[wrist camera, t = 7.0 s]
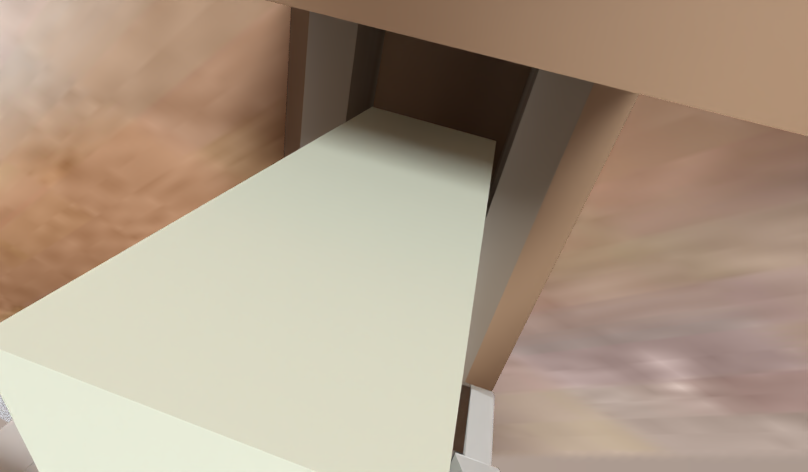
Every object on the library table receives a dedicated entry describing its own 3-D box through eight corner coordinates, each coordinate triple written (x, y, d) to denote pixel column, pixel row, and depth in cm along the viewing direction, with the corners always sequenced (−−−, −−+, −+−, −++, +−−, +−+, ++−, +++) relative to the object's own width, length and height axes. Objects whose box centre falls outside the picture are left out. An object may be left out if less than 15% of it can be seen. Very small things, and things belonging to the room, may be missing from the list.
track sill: (285, 332, 19) (137, 533, 12) (311, -62, 11) (-110, -243, 4) (480, 399, 18) (458, 667, 11) (662, 19, 10) (1105, 5, 3)
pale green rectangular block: (372, 106, 9) (-26, 338, 2) (496, 141, 9) (441, 518, 2) (327, 381, 14) (157, 709, 7) (405, 409, 14) (303, 778, 7)
